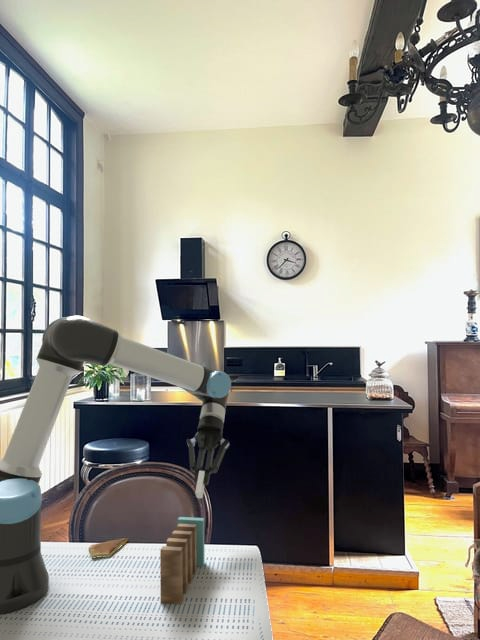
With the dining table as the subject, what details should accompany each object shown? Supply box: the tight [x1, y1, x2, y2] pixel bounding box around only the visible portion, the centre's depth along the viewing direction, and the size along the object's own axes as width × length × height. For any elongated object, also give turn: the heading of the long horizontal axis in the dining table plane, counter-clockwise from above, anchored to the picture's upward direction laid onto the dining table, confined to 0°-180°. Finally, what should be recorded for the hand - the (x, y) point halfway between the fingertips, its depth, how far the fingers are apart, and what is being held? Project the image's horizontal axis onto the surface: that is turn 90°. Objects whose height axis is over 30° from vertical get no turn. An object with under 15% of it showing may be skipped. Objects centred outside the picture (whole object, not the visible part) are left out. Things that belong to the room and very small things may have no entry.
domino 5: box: [159, 545, 184, 605], centre depth 94 cm, size 4×2×11 cm, turn 81°
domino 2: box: [176, 523, 198, 576], centre depth 106 cm, size 4×2×11 cm, turn 81°
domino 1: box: [177, 516, 205, 567], centre depth 110 cm, size 6×2×11 cm, turn 81°
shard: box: [88, 536, 130, 559], centre depth 118 cm, size 11×8×2 cm
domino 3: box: [171, 530, 193, 585], centre depth 102 cm, size 4×2×11 cm, turn 81°
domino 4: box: [165, 537, 189, 595], centre depth 98 cm, size 4×2×11 cm, turn 81°
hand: (198, 495), depth 119 cm, fingers closed
